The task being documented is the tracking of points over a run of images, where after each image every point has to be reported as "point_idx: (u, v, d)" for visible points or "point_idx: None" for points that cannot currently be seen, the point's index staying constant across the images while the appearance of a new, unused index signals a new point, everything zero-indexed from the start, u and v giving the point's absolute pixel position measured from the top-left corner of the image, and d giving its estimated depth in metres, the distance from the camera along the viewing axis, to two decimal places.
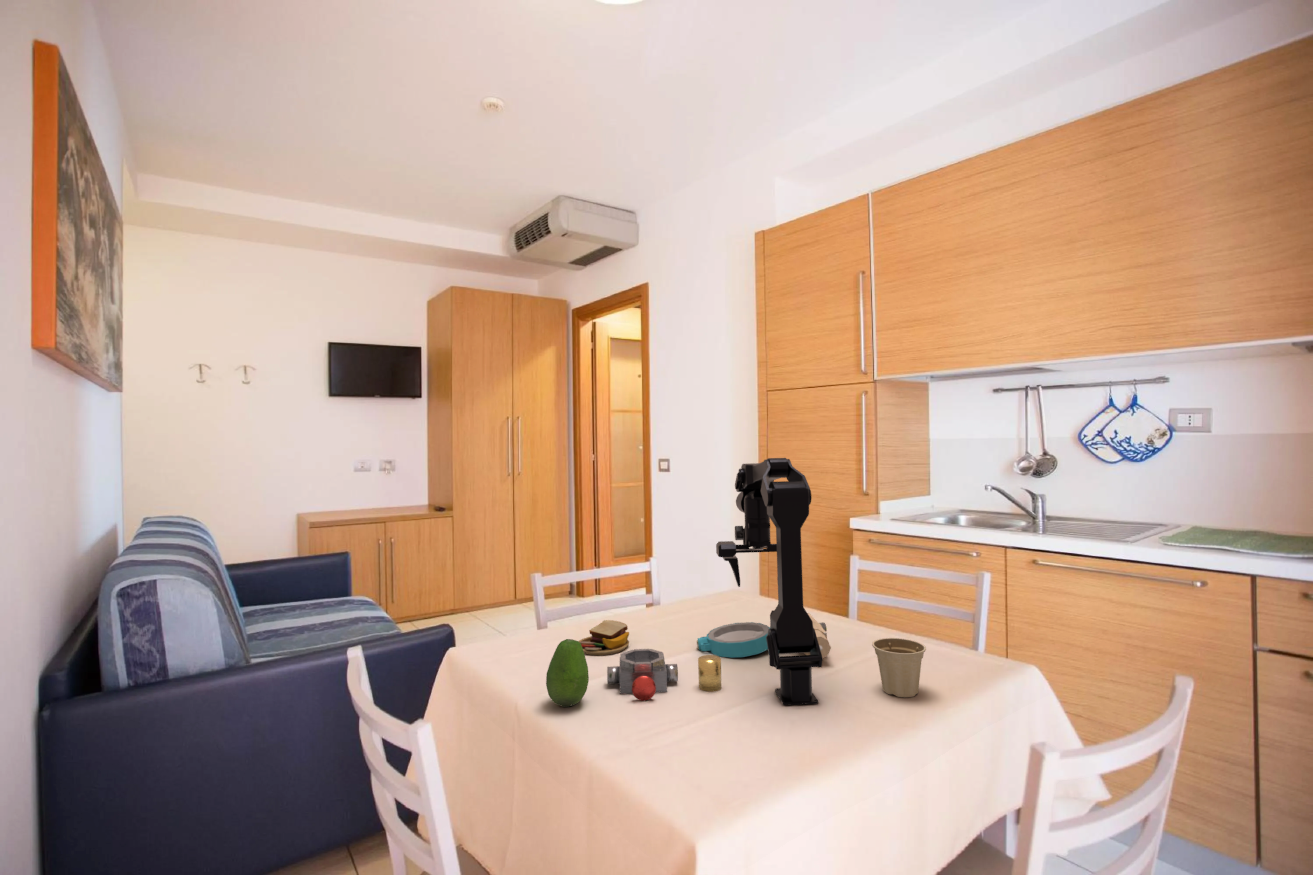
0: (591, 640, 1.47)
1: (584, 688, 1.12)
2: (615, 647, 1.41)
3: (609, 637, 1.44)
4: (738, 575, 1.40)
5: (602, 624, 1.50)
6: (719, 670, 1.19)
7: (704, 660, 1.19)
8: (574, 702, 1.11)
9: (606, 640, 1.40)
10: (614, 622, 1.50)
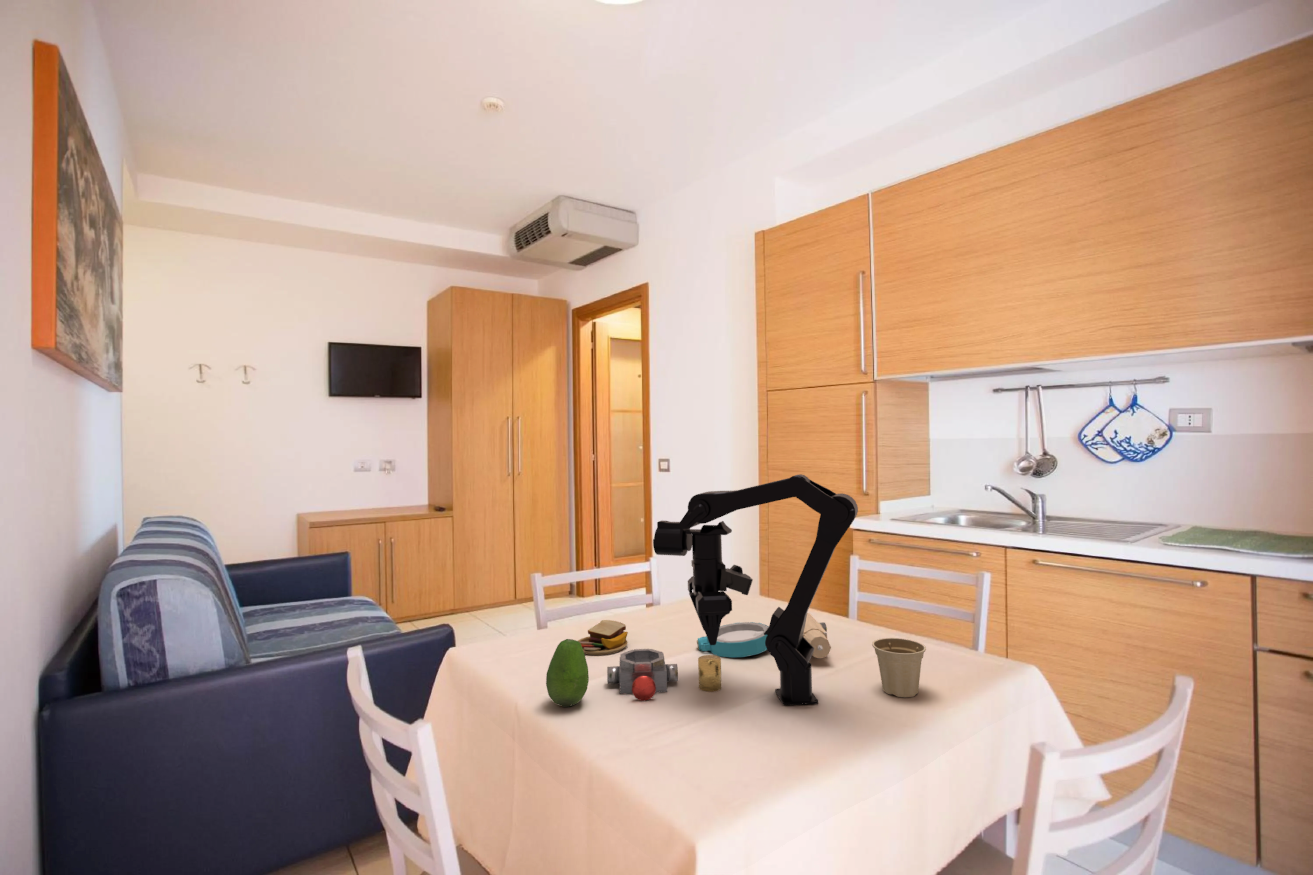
0: (589, 640, 1.47)
1: (584, 688, 1.12)
2: (614, 647, 1.42)
3: (608, 637, 1.44)
4: (698, 616, 1.25)
5: (600, 624, 1.50)
6: (719, 670, 1.19)
7: (704, 660, 1.19)
8: (574, 702, 1.11)
9: (605, 640, 1.40)
10: (612, 622, 1.50)
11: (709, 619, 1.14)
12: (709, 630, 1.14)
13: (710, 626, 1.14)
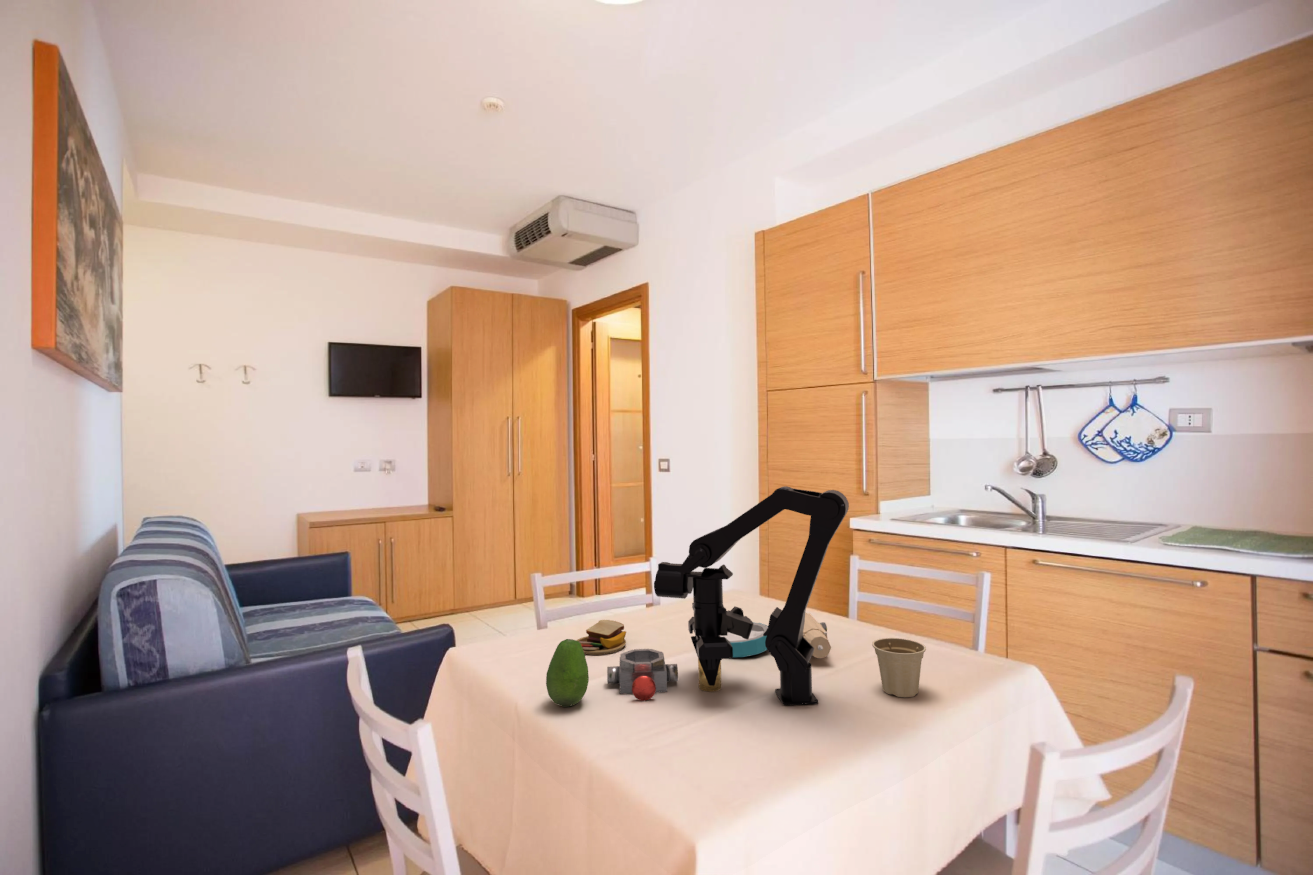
0: (588, 640, 1.48)
1: (584, 688, 1.12)
2: (613, 646, 1.42)
3: (606, 637, 1.44)
4: None
5: (598, 624, 1.50)
6: (719, 670, 1.19)
7: None
8: (574, 702, 1.11)
9: (604, 640, 1.40)
10: (611, 622, 1.50)
11: (708, 660, 1.17)
12: (708, 671, 1.17)
13: (709, 667, 1.16)
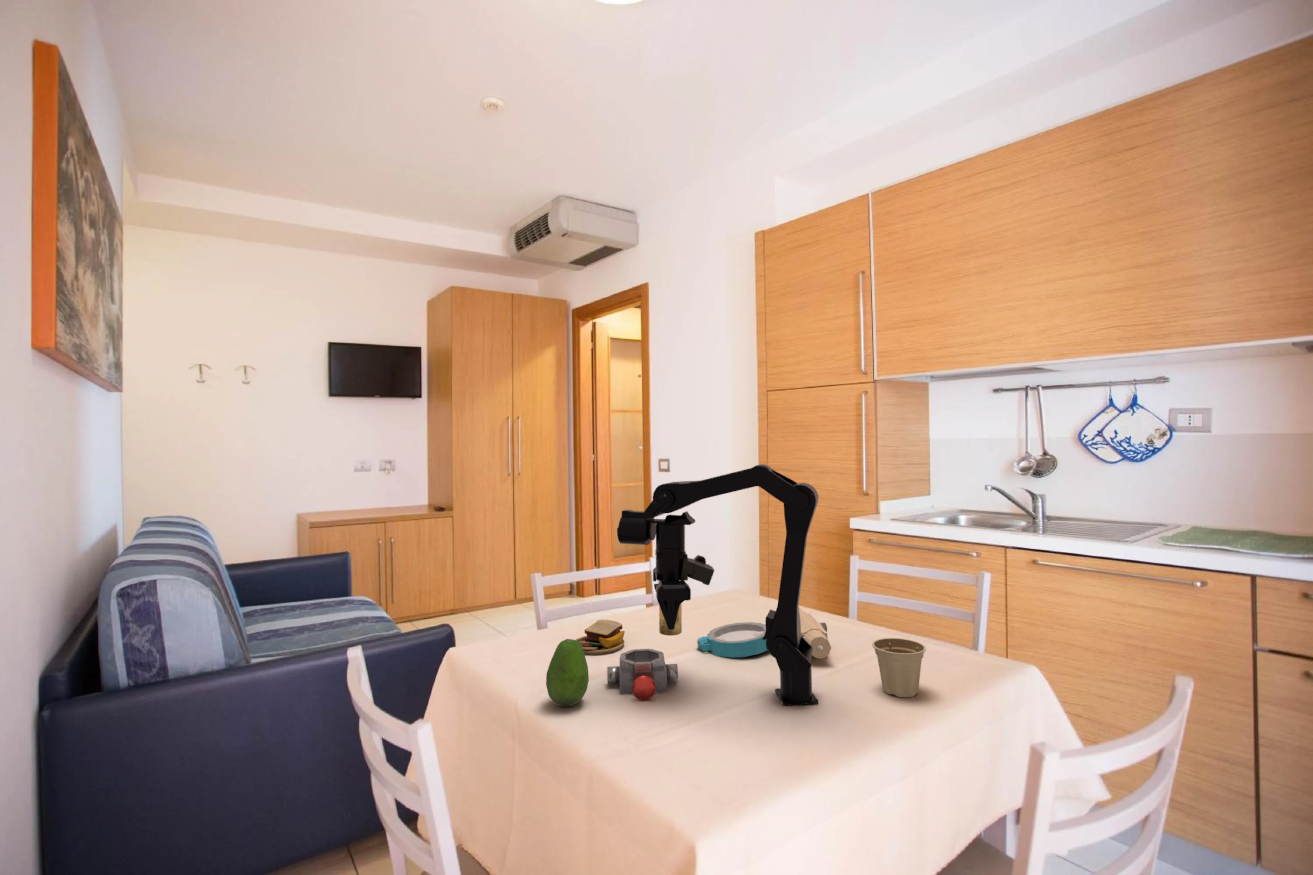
0: (586, 640, 1.48)
1: (584, 688, 1.12)
2: (611, 646, 1.42)
3: (605, 636, 1.44)
4: None
5: (597, 624, 1.50)
6: (679, 615, 1.20)
7: None
8: (574, 702, 1.11)
9: (603, 639, 1.41)
10: (609, 622, 1.51)
11: (668, 604, 1.18)
12: (667, 615, 1.18)
13: (669, 611, 1.18)
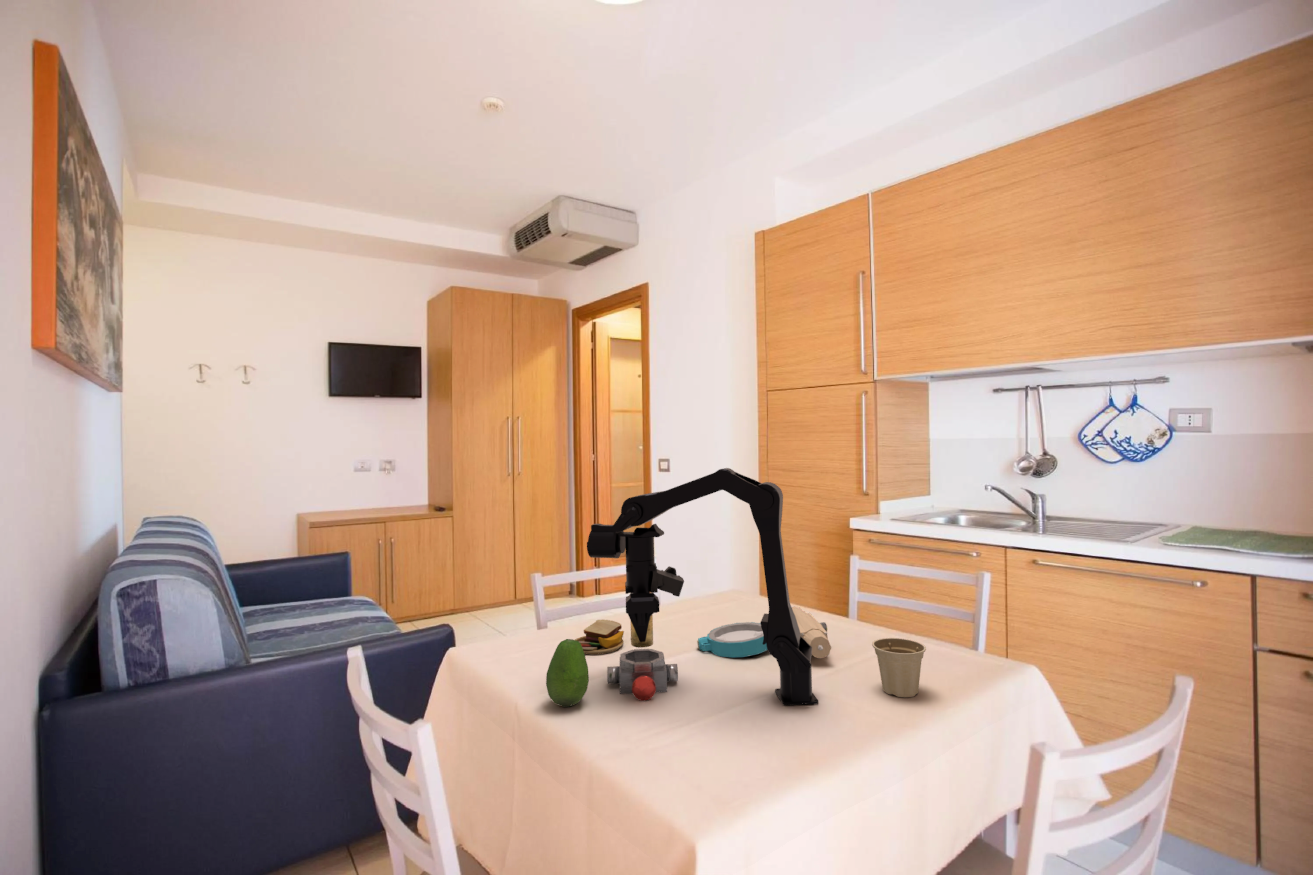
0: (585, 640, 1.48)
1: (584, 688, 1.12)
2: (611, 646, 1.42)
3: (604, 636, 1.44)
4: None
5: (596, 624, 1.50)
6: (650, 627, 1.21)
7: None
8: (574, 702, 1.11)
9: (602, 639, 1.41)
10: (608, 622, 1.51)
11: (638, 617, 1.19)
12: (638, 627, 1.19)
13: (639, 623, 1.19)
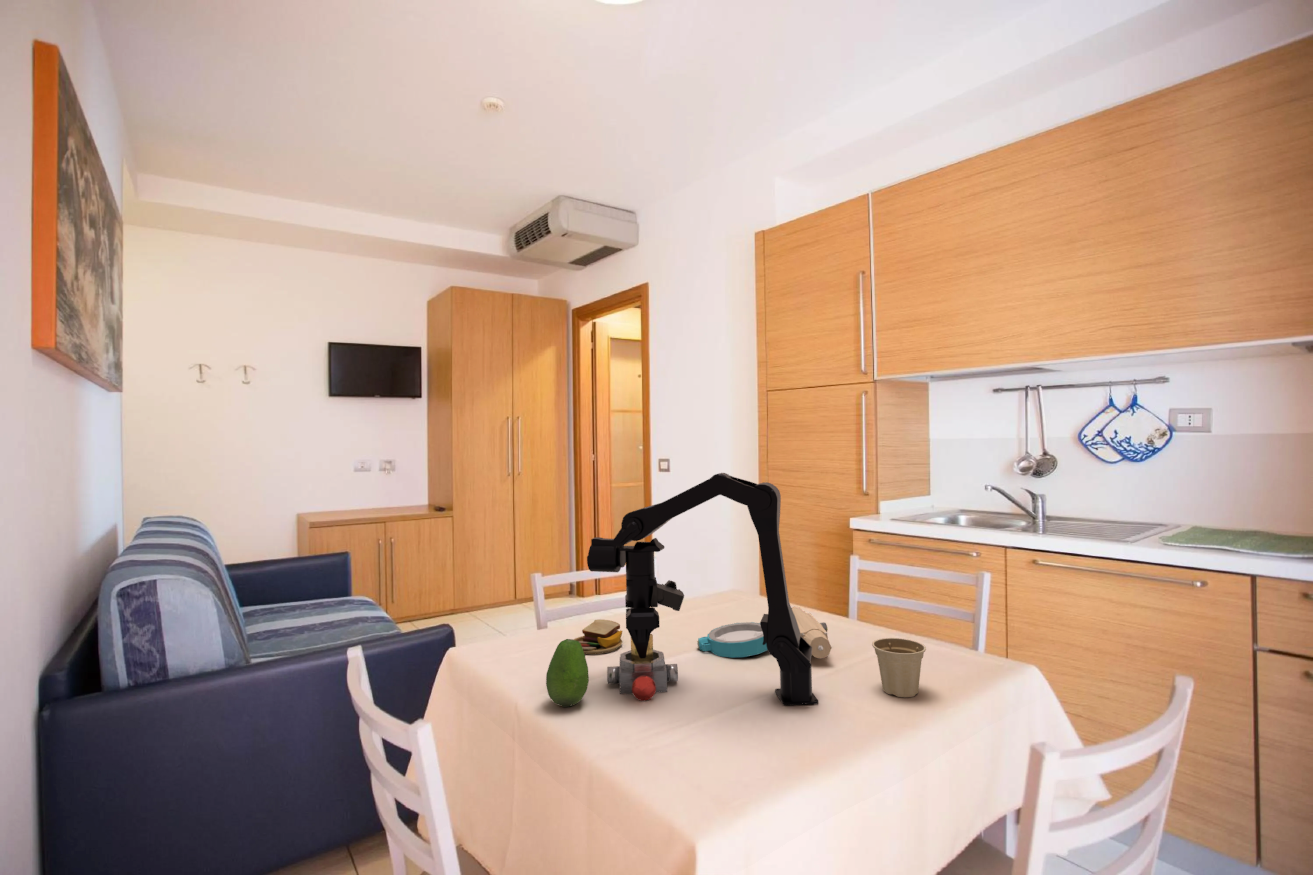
0: (584, 640, 1.48)
1: (584, 688, 1.12)
2: (610, 646, 1.42)
3: (603, 636, 1.44)
4: None
5: (594, 623, 1.50)
6: (650, 647, 1.21)
7: None
8: (574, 702, 1.11)
9: (601, 639, 1.41)
10: (606, 622, 1.51)
11: (638, 633, 1.18)
12: (638, 644, 1.18)
13: (639, 640, 1.18)
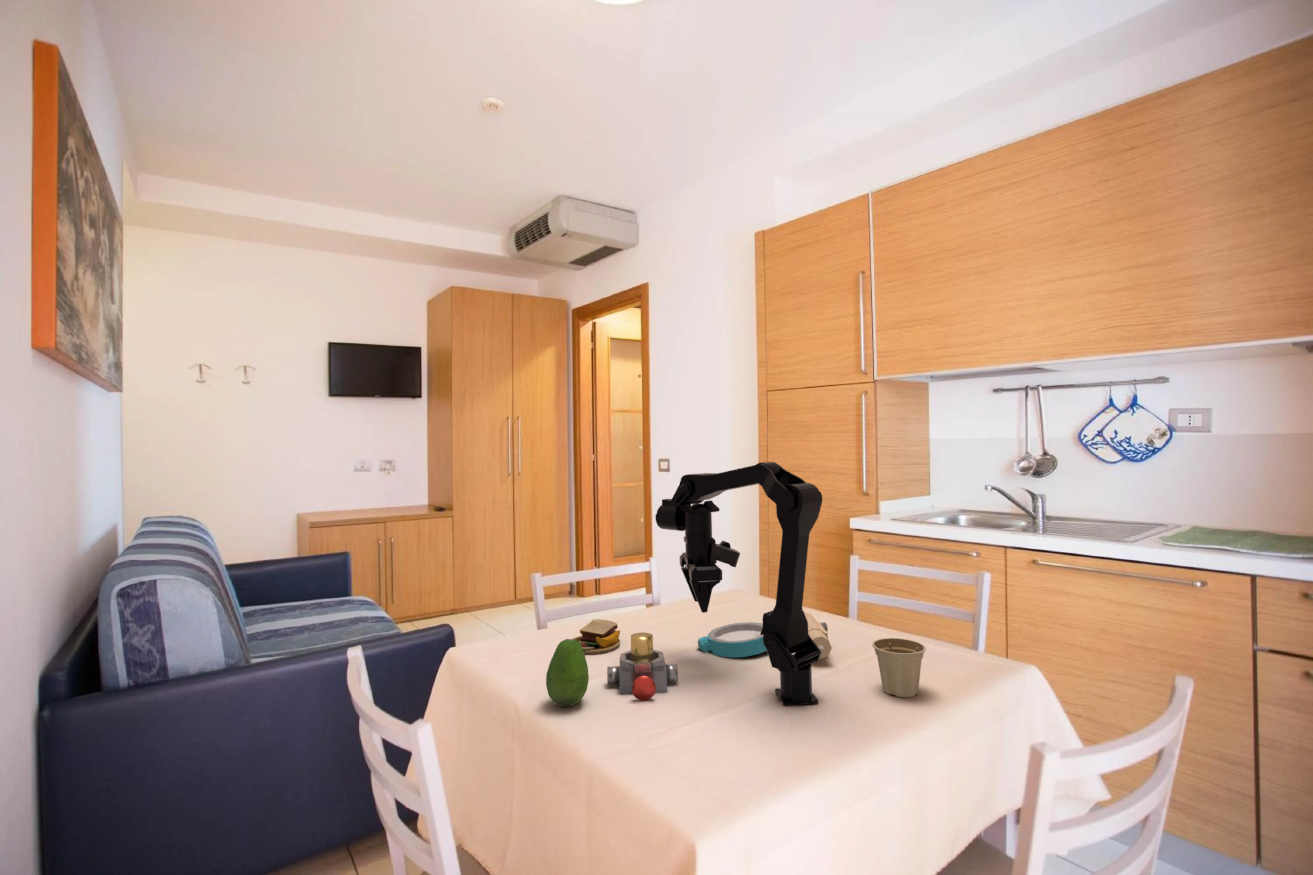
0: (581, 640, 1.48)
1: (584, 688, 1.12)
2: (608, 645, 1.43)
3: (601, 636, 1.45)
4: (689, 588, 1.36)
5: (591, 623, 1.51)
6: (650, 647, 1.21)
7: (636, 637, 1.22)
8: (574, 702, 1.11)
9: (599, 639, 1.41)
10: (604, 621, 1.51)
11: (701, 588, 1.25)
12: (701, 598, 1.25)
13: (702, 595, 1.25)
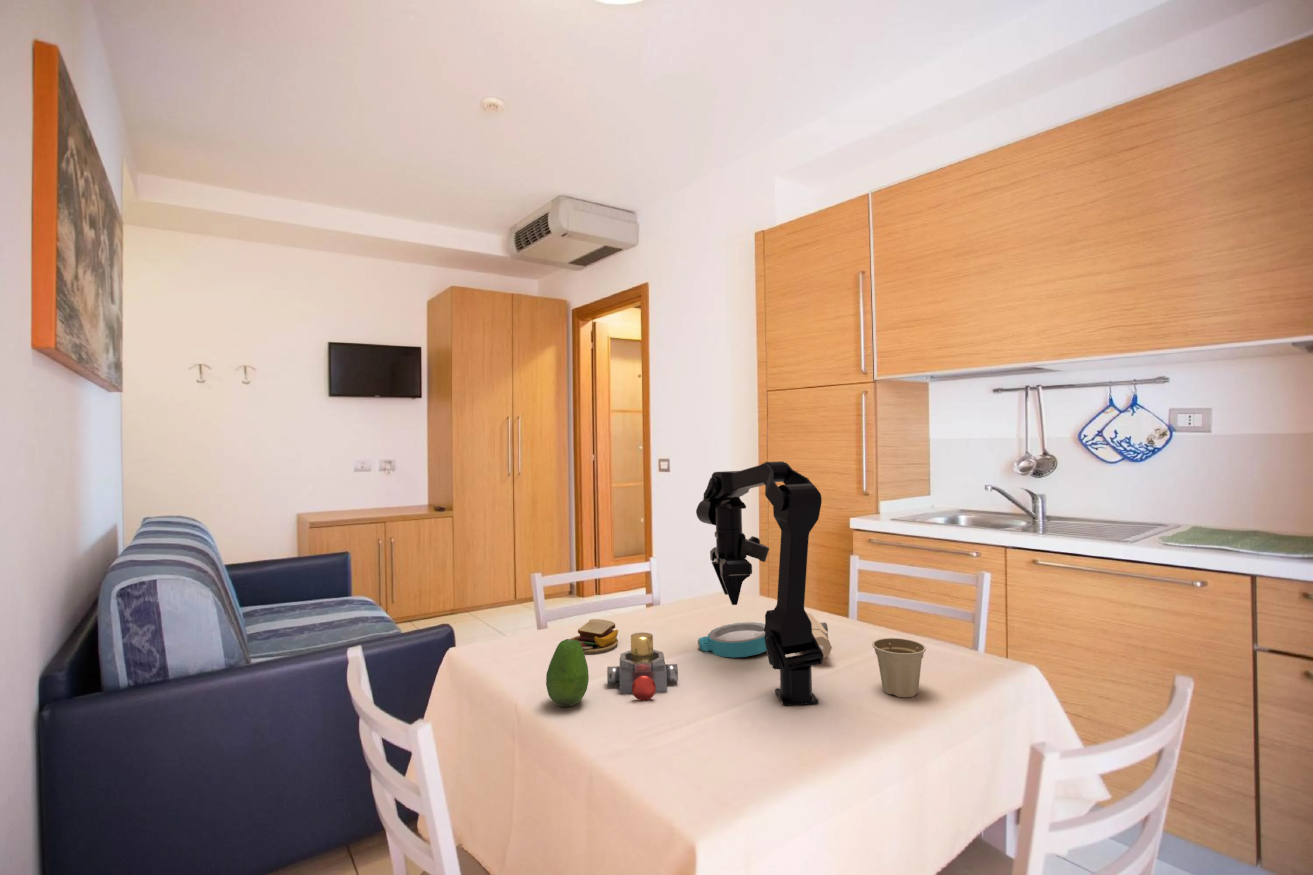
0: (579, 639, 1.48)
1: (584, 688, 1.12)
2: (606, 645, 1.43)
3: (599, 635, 1.45)
4: None
5: (589, 623, 1.51)
6: (650, 647, 1.21)
7: (636, 637, 1.22)
8: (574, 702, 1.11)
9: (598, 638, 1.41)
10: (601, 621, 1.51)
11: (731, 582, 1.30)
12: (731, 591, 1.30)
13: (732, 588, 1.30)
